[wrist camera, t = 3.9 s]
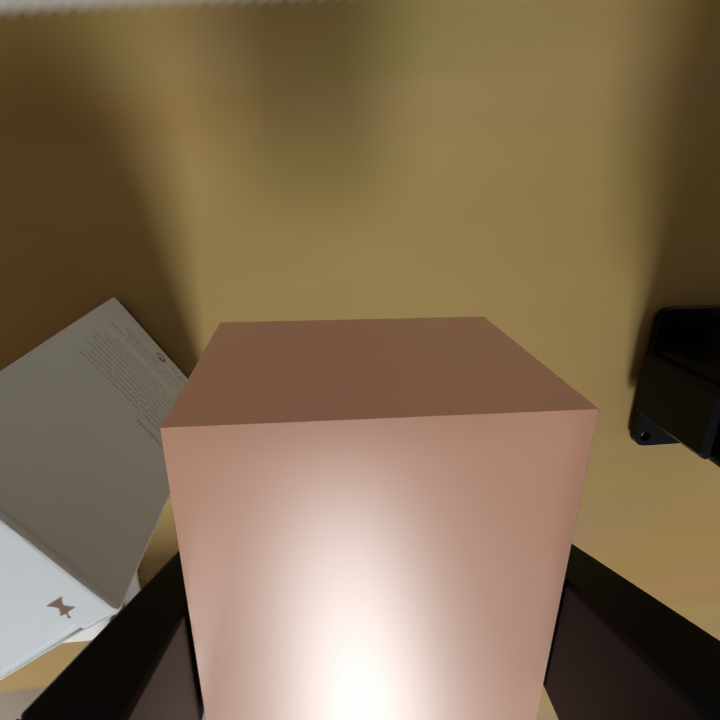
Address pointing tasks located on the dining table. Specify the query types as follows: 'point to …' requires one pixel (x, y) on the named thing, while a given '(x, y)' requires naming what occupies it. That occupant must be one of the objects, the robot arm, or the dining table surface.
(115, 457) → the small box
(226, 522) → the terracotta brick
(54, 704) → the robot arm
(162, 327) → the dining table surface
